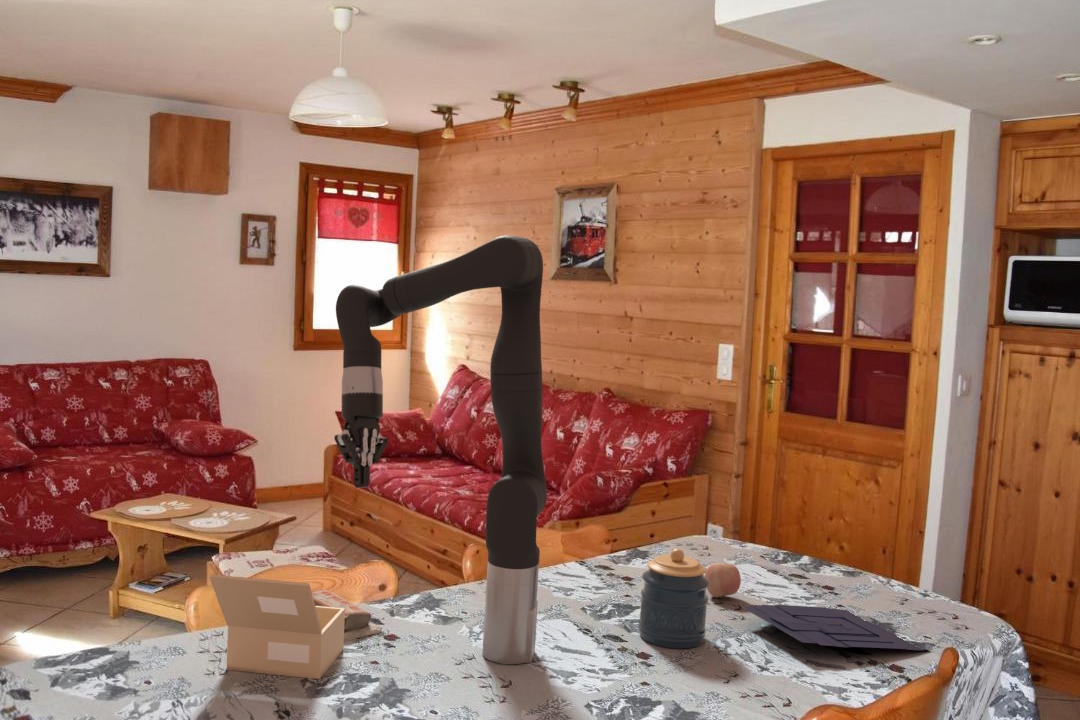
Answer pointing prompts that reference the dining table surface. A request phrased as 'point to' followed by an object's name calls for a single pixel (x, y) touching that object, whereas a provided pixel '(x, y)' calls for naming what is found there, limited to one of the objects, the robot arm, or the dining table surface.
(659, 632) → the canister
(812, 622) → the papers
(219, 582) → the lid
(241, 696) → the dining table surface
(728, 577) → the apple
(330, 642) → the mailer box
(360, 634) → the packaged product
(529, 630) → the robot arm
